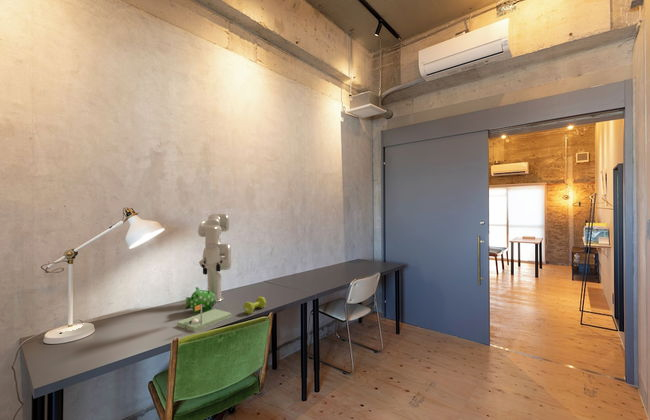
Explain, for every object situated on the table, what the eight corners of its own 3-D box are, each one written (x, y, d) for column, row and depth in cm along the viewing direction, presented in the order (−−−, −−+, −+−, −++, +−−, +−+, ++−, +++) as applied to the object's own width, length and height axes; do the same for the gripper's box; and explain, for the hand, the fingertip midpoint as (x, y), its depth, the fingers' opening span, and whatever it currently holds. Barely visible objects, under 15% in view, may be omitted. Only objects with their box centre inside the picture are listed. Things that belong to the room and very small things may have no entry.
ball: (194, 325, 174) (188, 324, 170) (196, 318, 175) (191, 317, 172) (199, 326, 172) (193, 326, 168) (201, 319, 173) (195, 319, 170)
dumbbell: (251, 315, 189) (251, 304, 188) (241, 313, 192) (241, 302, 192) (267, 307, 203) (267, 297, 203) (258, 305, 207) (258, 295, 207)
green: (177, 326, 171) (177, 302, 171) (214, 312, 193) (214, 291, 193) (194, 332, 162) (194, 306, 162) (231, 317, 185) (231, 295, 185)
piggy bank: (187, 309, 199) (186, 287, 199) (215, 306, 206) (215, 284, 205) (185, 316, 186) (185, 293, 186) (215, 313, 192) (215, 290, 192)
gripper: (219, 243, 195) (219, 269, 196) (195, 247, 180) (195, 274, 181) (226, 244, 191) (226, 270, 192) (203, 248, 177) (203, 276, 177)
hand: (211, 272), depth 186 cm, fingers open, 9 cm apart
